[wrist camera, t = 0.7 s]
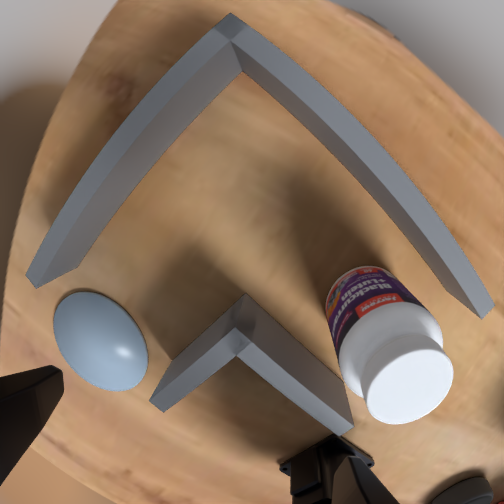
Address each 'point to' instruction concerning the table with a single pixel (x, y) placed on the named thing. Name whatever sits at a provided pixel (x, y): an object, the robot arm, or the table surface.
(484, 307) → the channel
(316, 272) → the table surface
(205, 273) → the table surface
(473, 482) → the smart speaker
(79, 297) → the pad
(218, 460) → the table surface
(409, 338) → the pill bottle
